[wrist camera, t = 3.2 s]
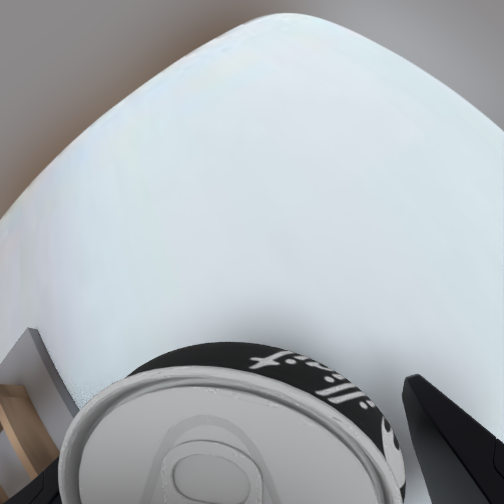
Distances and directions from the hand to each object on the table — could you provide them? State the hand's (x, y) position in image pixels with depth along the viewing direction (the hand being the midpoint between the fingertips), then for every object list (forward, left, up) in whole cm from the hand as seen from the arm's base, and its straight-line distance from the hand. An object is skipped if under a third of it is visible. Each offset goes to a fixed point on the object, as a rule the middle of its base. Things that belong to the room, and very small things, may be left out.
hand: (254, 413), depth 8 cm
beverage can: (-1, -1, -7) cm, 7 cm away
